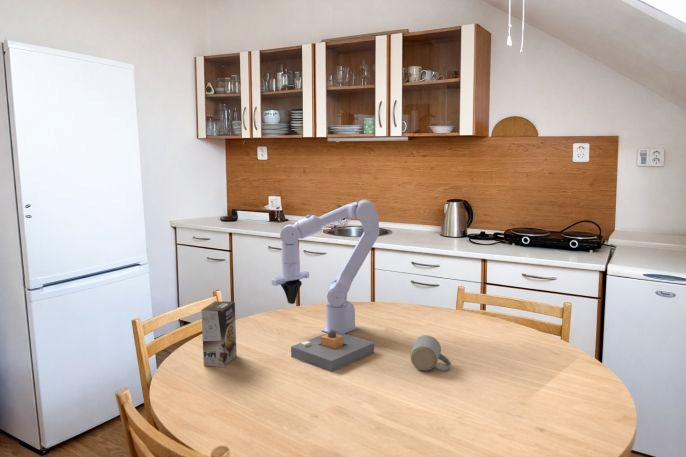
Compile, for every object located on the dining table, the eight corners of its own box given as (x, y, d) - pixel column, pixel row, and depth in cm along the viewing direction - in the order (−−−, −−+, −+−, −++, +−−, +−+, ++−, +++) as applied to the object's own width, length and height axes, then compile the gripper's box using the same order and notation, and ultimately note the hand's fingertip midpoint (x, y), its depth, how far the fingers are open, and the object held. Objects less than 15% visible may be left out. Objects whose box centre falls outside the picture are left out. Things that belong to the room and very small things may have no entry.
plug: (329, 350, 158) (328, 327, 157) (343, 354, 155) (342, 330, 154) (321, 354, 155) (320, 331, 153) (335, 358, 152) (334, 335, 151)
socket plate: (334, 339, 166) (333, 328, 166) (374, 352, 156) (374, 340, 155) (291, 356, 153) (290, 343, 153) (331, 371, 143) (331, 358, 142)
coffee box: (224, 367, 146) (222, 310, 143) (202, 366, 147) (200, 309, 145) (237, 355, 155) (235, 301, 152) (217, 353, 156) (214, 300, 154)
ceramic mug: (409, 371, 143) (410, 343, 142) (413, 359, 151) (414, 333, 149) (449, 375, 140) (450, 347, 139) (451, 363, 148) (452, 337, 147)
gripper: (298, 257, 179) (299, 296, 181) (265, 264, 169) (266, 305, 171) (313, 259, 175) (314, 300, 177) (279, 267, 164) (280, 309, 166)
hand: (291, 303), depth 174 cm, fingers closed
